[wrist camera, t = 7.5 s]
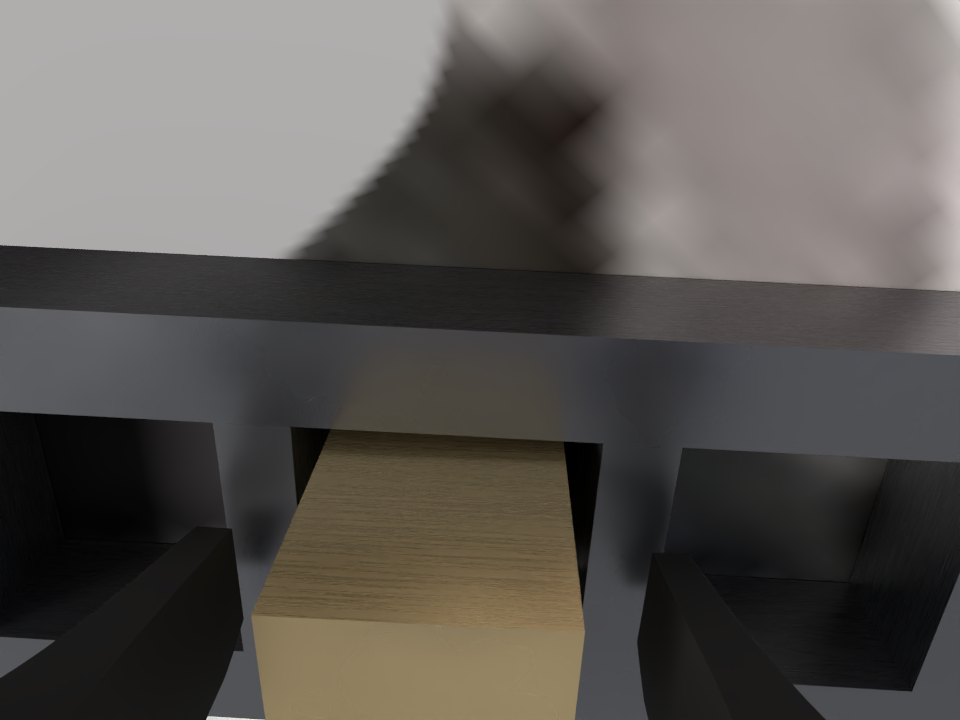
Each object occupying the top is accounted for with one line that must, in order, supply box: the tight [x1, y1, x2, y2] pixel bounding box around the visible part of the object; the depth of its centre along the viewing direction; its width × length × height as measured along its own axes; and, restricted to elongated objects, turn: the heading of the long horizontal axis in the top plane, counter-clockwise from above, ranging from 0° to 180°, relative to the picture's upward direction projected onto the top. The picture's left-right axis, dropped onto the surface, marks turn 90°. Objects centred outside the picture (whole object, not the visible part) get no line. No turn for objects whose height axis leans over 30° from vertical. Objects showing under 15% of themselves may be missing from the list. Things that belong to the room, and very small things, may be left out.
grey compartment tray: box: [0, 245, 960, 720], centre depth 15 cm, size 22×9×3 cm, turn 88°
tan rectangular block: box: [251, 429, 585, 720], centre depth 13 cm, size 4×4×7 cm
